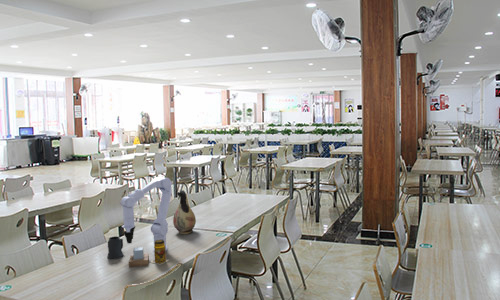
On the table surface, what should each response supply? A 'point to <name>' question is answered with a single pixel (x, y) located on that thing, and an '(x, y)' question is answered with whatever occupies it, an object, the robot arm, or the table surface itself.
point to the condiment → (159, 252)
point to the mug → (115, 248)
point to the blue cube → (138, 253)
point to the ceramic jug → (184, 216)
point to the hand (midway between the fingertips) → (130, 241)
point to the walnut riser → (139, 261)
